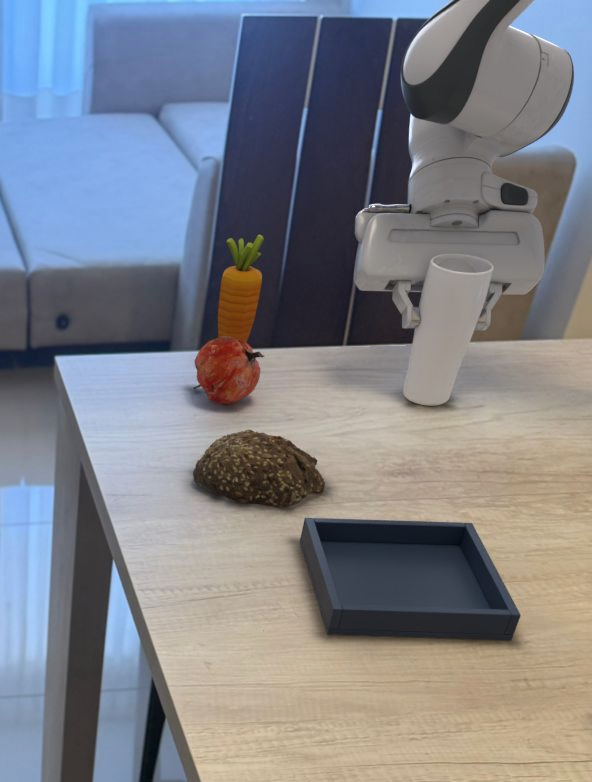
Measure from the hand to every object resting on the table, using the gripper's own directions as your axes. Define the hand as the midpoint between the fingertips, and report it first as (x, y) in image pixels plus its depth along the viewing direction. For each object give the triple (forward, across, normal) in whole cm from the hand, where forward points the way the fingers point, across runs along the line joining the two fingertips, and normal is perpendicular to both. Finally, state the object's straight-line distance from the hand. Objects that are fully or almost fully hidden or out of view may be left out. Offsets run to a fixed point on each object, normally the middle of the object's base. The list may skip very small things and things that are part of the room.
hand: (446, 327), depth 128 cm
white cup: (+6, 0, +6) cm, 9 cm away
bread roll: (+21, -22, -9) cm, 32 cm away
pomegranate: (+7, -24, +5) cm, 26 cm away
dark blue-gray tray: (+35, -12, -23) cm, 44 cm away
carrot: (0, -22, +12) cm, 25 cm away
